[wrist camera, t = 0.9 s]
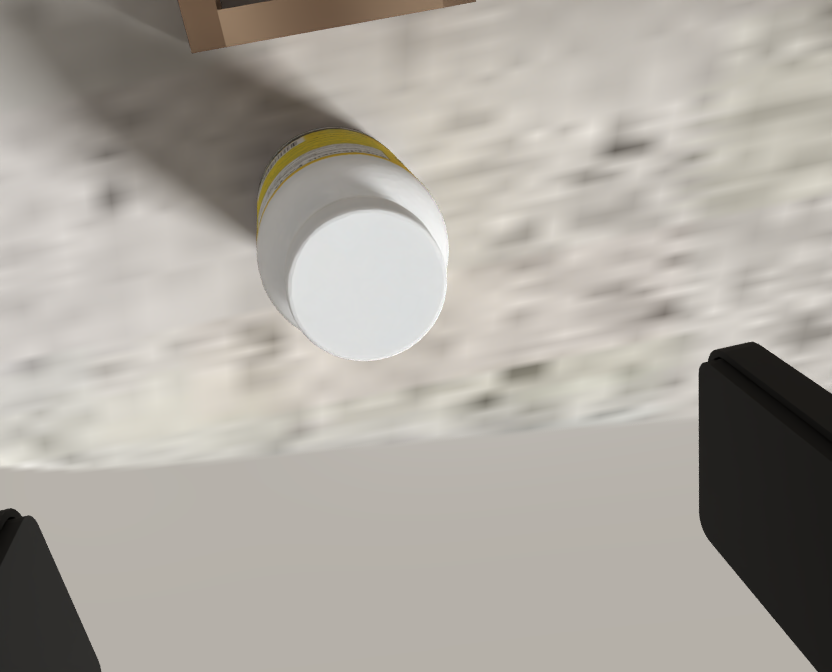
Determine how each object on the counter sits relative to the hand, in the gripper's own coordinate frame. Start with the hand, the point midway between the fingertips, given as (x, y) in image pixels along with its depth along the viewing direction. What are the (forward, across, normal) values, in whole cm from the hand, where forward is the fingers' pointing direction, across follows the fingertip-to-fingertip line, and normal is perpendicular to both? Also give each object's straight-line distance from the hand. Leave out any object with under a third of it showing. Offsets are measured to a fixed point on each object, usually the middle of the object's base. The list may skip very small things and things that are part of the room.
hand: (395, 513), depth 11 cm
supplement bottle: (+19, -1, 0) cm, 19 cm away
